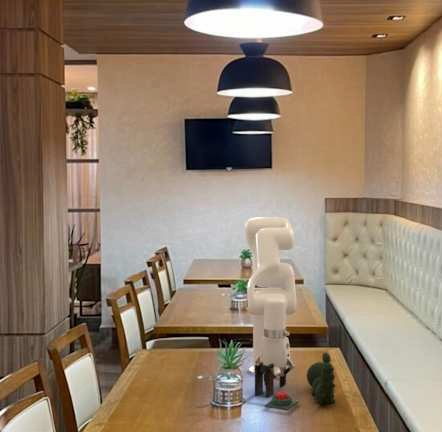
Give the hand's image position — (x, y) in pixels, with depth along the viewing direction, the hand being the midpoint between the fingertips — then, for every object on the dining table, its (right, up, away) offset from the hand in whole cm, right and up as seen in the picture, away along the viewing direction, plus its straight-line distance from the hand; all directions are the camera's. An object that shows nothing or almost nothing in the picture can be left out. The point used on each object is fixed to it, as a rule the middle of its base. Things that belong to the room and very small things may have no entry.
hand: (274, 384), depth 231 cm
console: (+2, -3, -17) cm, 17 cm away
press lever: (-2, +4, -5) cm, 7 cm away
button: (+2, 0, -17) cm, 17 cm away
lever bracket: (-4, -3, -8) cm, 9 cm away
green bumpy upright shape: (+16, -3, -8) cm, 18 cm away
